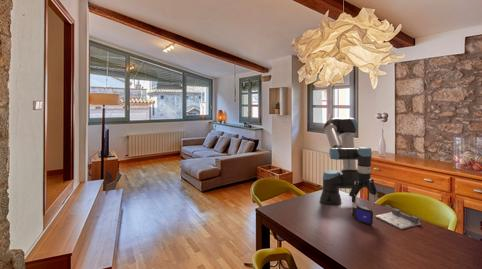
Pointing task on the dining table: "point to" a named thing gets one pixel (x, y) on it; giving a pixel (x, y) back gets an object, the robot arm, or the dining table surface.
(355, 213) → the small display screen
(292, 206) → the dining table surface
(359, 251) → the dining table surface
